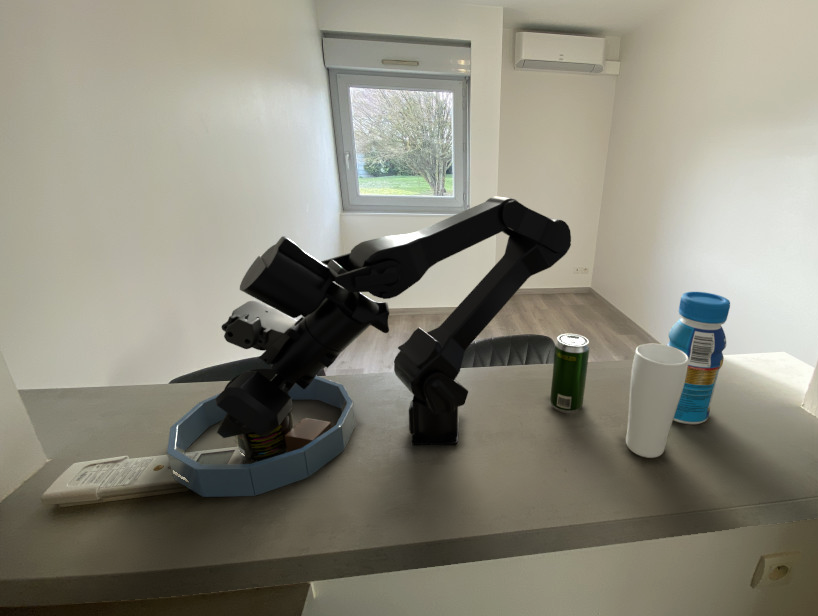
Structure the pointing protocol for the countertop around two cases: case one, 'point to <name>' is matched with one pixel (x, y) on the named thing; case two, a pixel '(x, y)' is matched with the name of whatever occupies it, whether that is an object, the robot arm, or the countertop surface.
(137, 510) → the countertop surface
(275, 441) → the supplement container
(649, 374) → the drinking glass
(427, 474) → the countertop surface
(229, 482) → the blue polygonal ring
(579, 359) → the beer can
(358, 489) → the countertop surface
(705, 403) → the beverage bottle
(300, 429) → the walnut block
